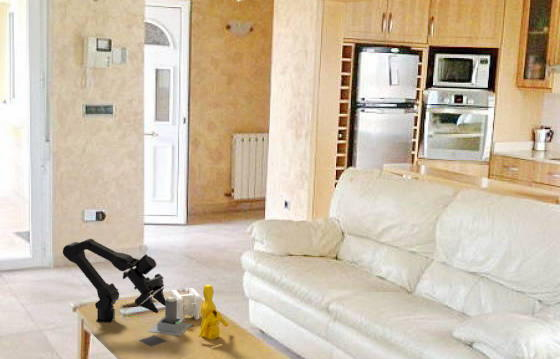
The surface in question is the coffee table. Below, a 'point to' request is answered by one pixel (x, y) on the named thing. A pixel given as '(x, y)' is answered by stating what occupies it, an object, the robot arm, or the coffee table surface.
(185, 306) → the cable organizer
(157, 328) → the port
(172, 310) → the grey cylindrical piece
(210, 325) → the figure statuette
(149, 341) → the pad
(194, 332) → the coffee table surface
